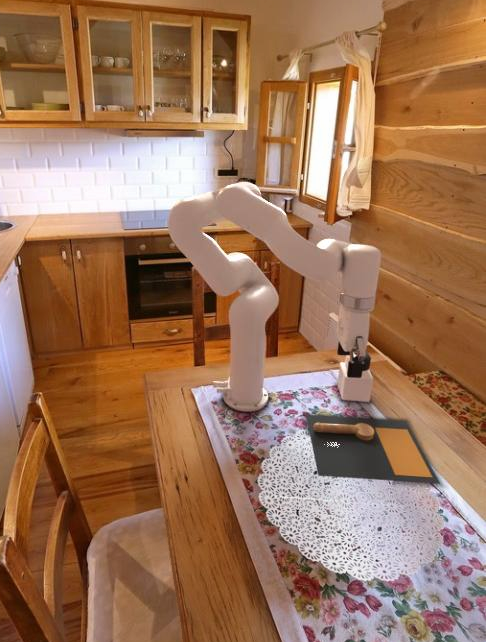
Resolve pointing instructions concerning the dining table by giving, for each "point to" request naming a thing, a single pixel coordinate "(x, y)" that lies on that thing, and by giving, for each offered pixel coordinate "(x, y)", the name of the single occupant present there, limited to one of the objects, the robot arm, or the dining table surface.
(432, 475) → the mat
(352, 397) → the container
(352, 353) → the robot arm
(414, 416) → the dining table surface
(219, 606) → the dining table surface
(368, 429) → the wooden rod with disc
